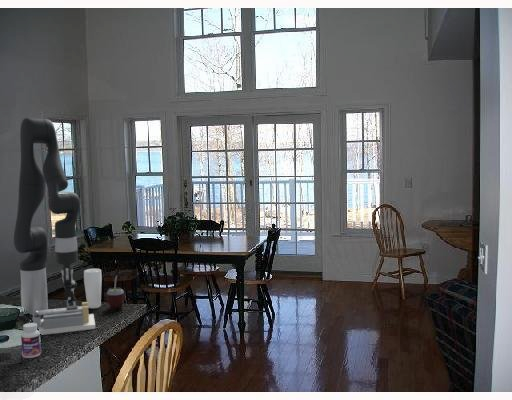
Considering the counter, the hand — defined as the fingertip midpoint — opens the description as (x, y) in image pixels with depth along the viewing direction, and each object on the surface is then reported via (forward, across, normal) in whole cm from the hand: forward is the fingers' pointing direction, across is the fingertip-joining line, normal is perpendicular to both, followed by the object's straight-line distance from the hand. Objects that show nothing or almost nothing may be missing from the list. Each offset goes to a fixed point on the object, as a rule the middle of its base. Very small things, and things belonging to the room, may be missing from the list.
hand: (68, 296), depth 196 cm
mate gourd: (+11, +14, -18) cm, 25 cm away
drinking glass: (+11, +20, -10) cm, 25 cm away
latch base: (+11, 0, +2) cm, 11 cm away
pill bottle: (+11, -25, +11) cm, 29 cm away
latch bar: (+5, 0, +3) cm, 6 cm away
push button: (+11, +25, -1) cm, 27 cm away
